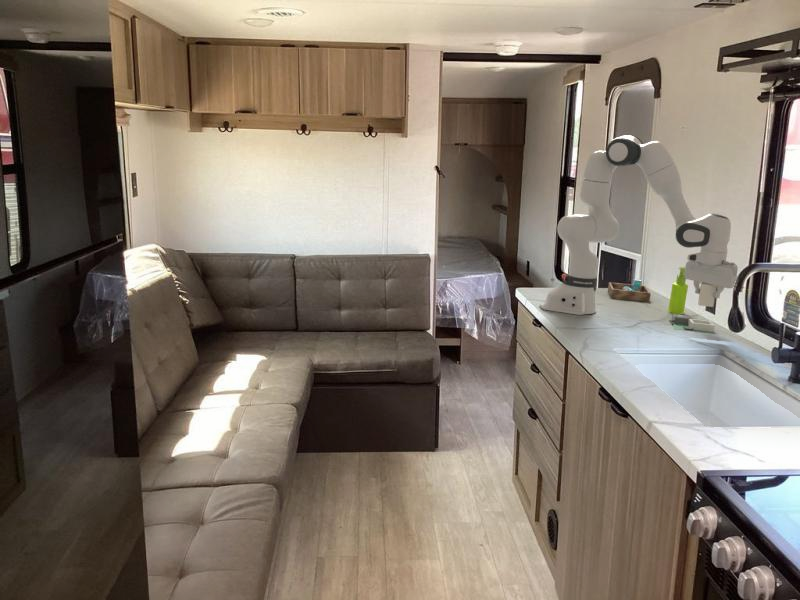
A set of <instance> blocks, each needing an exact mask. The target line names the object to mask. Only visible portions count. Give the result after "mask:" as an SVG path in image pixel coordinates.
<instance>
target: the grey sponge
mask: <svg viewBox="0 0 800 600" xmlns="http://www.w3.org/2000/svg"><path fill="white" fill-rule="evenodd" d="M671 315H672V316H671V319H668V322H669V323H670V324H671V326H672V325H674V323H675V324H684V325H688V321H689V319H691V318H690V316H689V315H688V314H674V313H671Z"/></svg>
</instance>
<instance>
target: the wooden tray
mask: <svg viewBox="0 0 800 600" xmlns="http://www.w3.org/2000/svg"><path fill="white" fill-rule="evenodd" d="M625 286H628V287H630V288H631V289H633V284H630V283H621V282H620V283H619V282H608V286H607V293H608V294H610V295H609V297H610V299H616V300H617V299H619V300H628V301H629V300H630V301H638V302H639V301H640V302H646V303H647V302H649V303H650V299H651V291H650V290H649V289H648V287H647V286H646V285H642V287H641V292H638V291H628V290H622V289H623V287H625Z"/></svg>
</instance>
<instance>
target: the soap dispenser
mask: <svg viewBox="0 0 800 600" xmlns="http://www.w3.org/2000/svg"><path fill="white" fill-rule="evenodd" d="M678 269H679V270H680V271H679V274H677V276H676V281H675V282H672V284H671V285H672V286H671V293H670V298H669V305H668V310H667V311H668V313H670V314H680V315H684V313H685V306H686V301H687V300H686V299H687V295H688V288H689V284H687V283H686V280H687V279H685V277H684V270H685V267H684V266H683V267H678Z"/></svg>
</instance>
